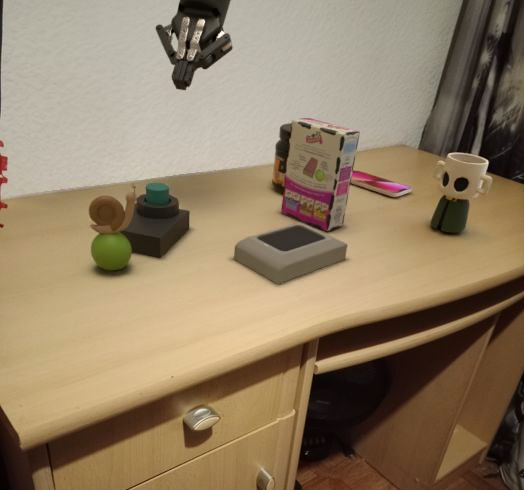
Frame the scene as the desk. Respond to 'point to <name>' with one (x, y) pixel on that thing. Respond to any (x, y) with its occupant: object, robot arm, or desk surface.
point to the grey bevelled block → (289, 252)
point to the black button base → (156, 226)
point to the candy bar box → (319, 172)
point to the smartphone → (379, 184)
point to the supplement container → (281, 158)
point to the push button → (157, 193)
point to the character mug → (459, 189)
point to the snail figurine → (111, 230)
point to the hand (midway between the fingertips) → (179, 86)
